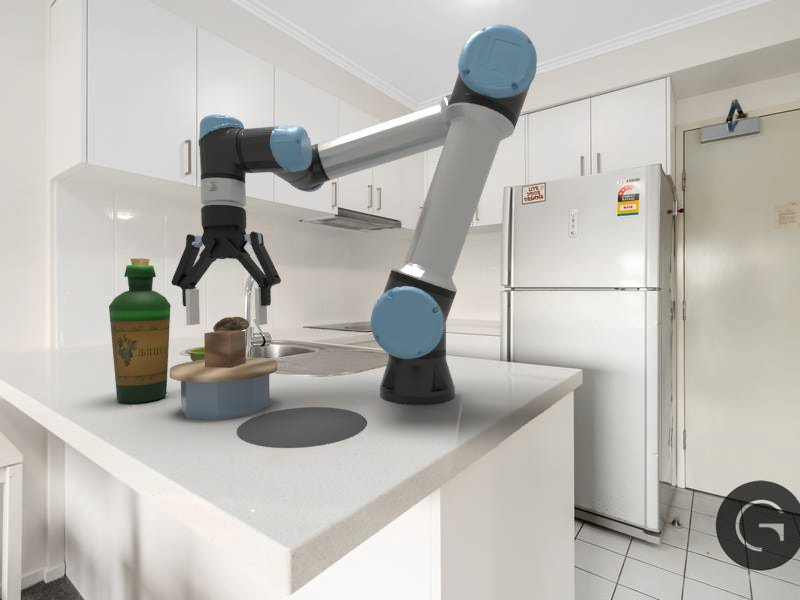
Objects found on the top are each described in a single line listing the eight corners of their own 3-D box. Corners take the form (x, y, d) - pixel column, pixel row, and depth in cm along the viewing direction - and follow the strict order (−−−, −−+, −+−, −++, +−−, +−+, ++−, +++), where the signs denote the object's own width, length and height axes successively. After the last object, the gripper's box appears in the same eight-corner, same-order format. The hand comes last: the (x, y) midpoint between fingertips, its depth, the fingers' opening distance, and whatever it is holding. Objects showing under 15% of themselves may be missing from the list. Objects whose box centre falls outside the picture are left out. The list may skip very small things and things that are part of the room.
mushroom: (248, 377, 107) (247, 317, 106) (210, 379, 104) (209, 318, 104) (250, 370, 116) (249, 315, 115) (215, 372, 113) (215, 315, 113)
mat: (379, 412, 76) (379, 410, 76) (345, 456, 56) (345, 452, 56) (274, 407, 80) (274, 404, 80) (207, 446, 60) (207, 442, 60)
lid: (293, 364, 85) (293, 328, 85) (245, 384, 68) (244, 338, 67) (211, 361, 88) (210, 327, 88) (144, 380, 71) (143, 336, 71)
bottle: (115, 409, 78) (112, 256, 78) (106, 398, 86) (104, 259, 86) (178, 399, 85) (176, 258, 85) (165, 390, 94) (163, 261, 93)
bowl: (279, 401, 84) (279, 365, 84) (240, 423, 70) (240, 381, 70) (214, 398, 86) (214, 363, 86) (164, 419, 73) (164, 378, 72)
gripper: (147, 206, 76) (150, 326, 76) (278, 199, 71) (281, 326, 72) (176, 213, 83) (179, 322, 84) (297, 207, 79) (300, 322, 79)
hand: (226, 324), depth 78 cm, fingers open, 13 cm apart
